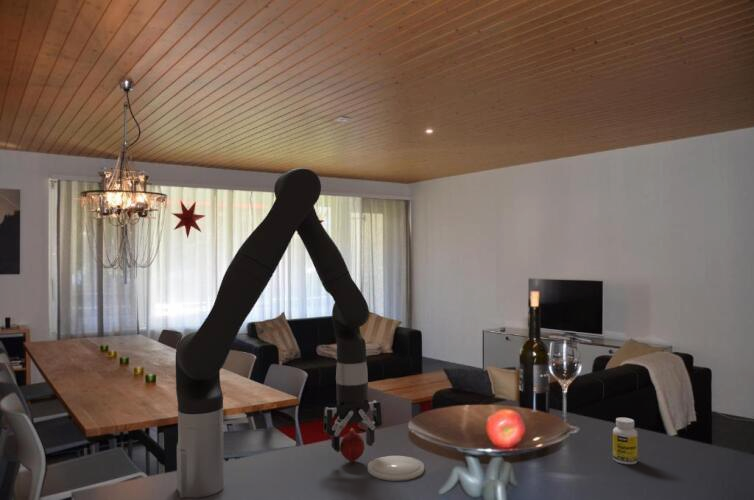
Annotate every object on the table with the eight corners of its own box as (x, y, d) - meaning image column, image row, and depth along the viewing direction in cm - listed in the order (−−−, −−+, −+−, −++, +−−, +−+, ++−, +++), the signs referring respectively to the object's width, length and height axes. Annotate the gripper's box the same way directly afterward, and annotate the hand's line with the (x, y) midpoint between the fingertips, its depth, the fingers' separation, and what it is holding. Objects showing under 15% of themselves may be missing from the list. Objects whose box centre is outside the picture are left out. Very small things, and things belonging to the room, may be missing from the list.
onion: (368, 464, 138) (367, 430, 138) (344, 468, 136) (344, 433, 136) (359, 456, 144) (359, 424, 144) (337, 459, 142) (336, 426, 142)
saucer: (383, 484, 126) (383, 478, 126) (358, 465, 138) (358, 459, 138) (434, 474, 132) (434, 468, 132) (407, 456, 144) (407, 451, 144)
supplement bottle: (614, 464, 137) (614, 422, 137) (611, 456, 142) (610, 415, 142) (639, 465, 136) (639, 423, 136) (635, 457, 141) (634, 417, 141)
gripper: (329, 387, 134) (331, 458, 134) (385, 379, 140) (387, 447, 140) (318, 380, 140) (320, 448, 140) (372, 373, 146) (373, 438, 147)
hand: (353, 447), depth 140 cm, fingers open, 8 cm apart
